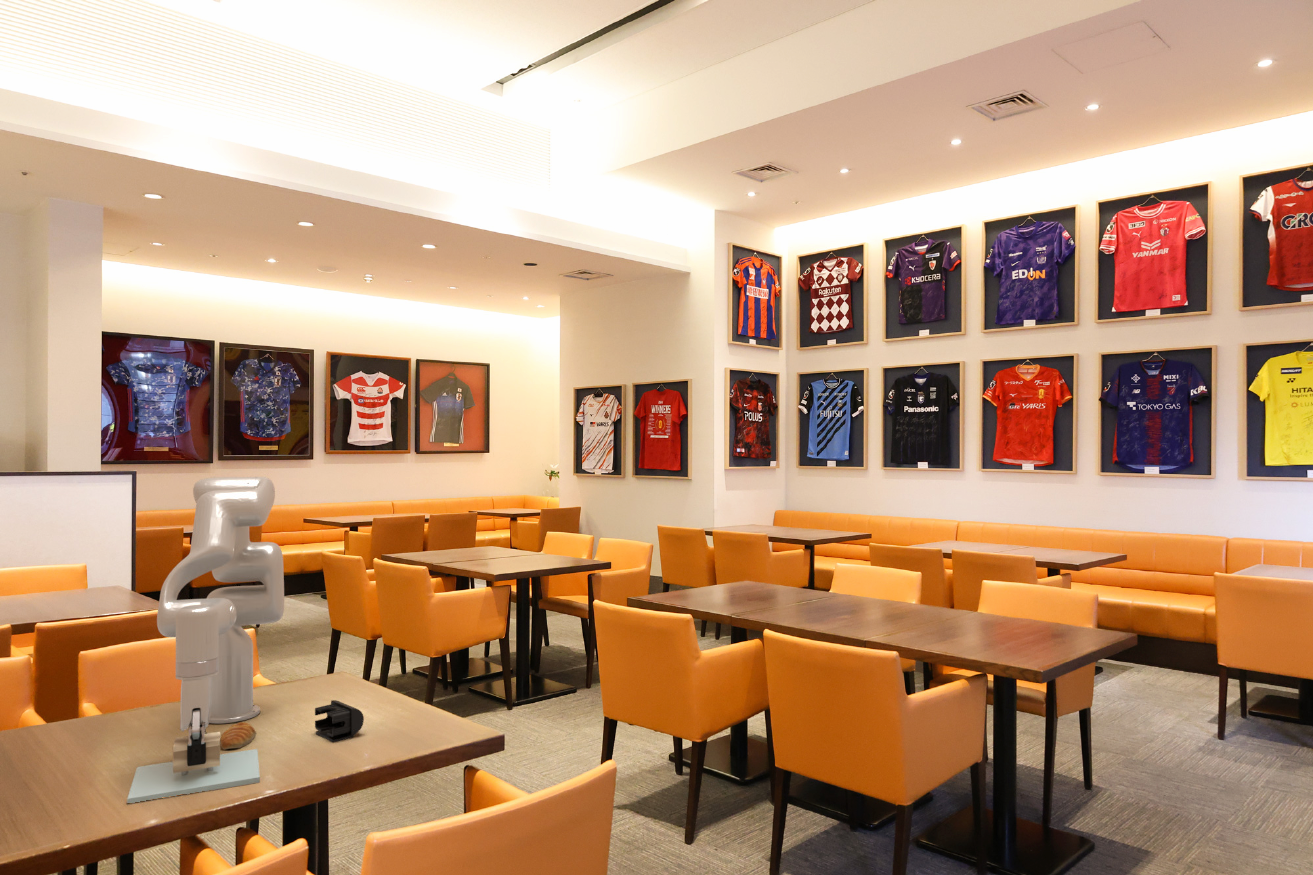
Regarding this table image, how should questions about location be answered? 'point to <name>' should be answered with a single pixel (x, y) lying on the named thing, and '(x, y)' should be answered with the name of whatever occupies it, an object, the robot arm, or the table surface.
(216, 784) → the base plate
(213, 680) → the robot arm
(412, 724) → the table surface
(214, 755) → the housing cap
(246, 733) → the pastry
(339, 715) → the end cap
